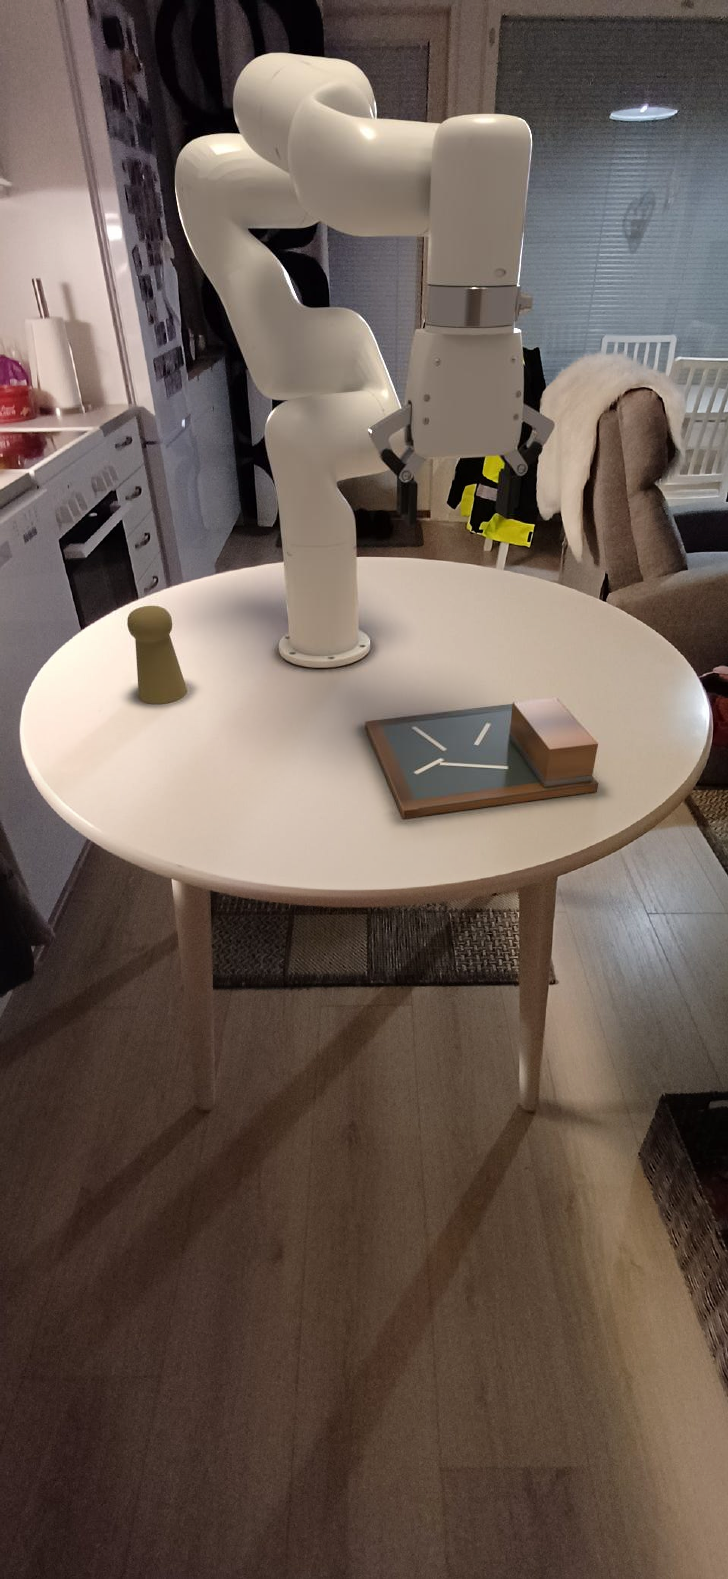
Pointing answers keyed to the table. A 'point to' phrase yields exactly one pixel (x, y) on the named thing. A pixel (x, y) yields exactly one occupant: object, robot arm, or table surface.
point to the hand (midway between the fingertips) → (456, 518)
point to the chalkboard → (457, 762)
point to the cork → (155, 656)
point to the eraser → (552, 742)
